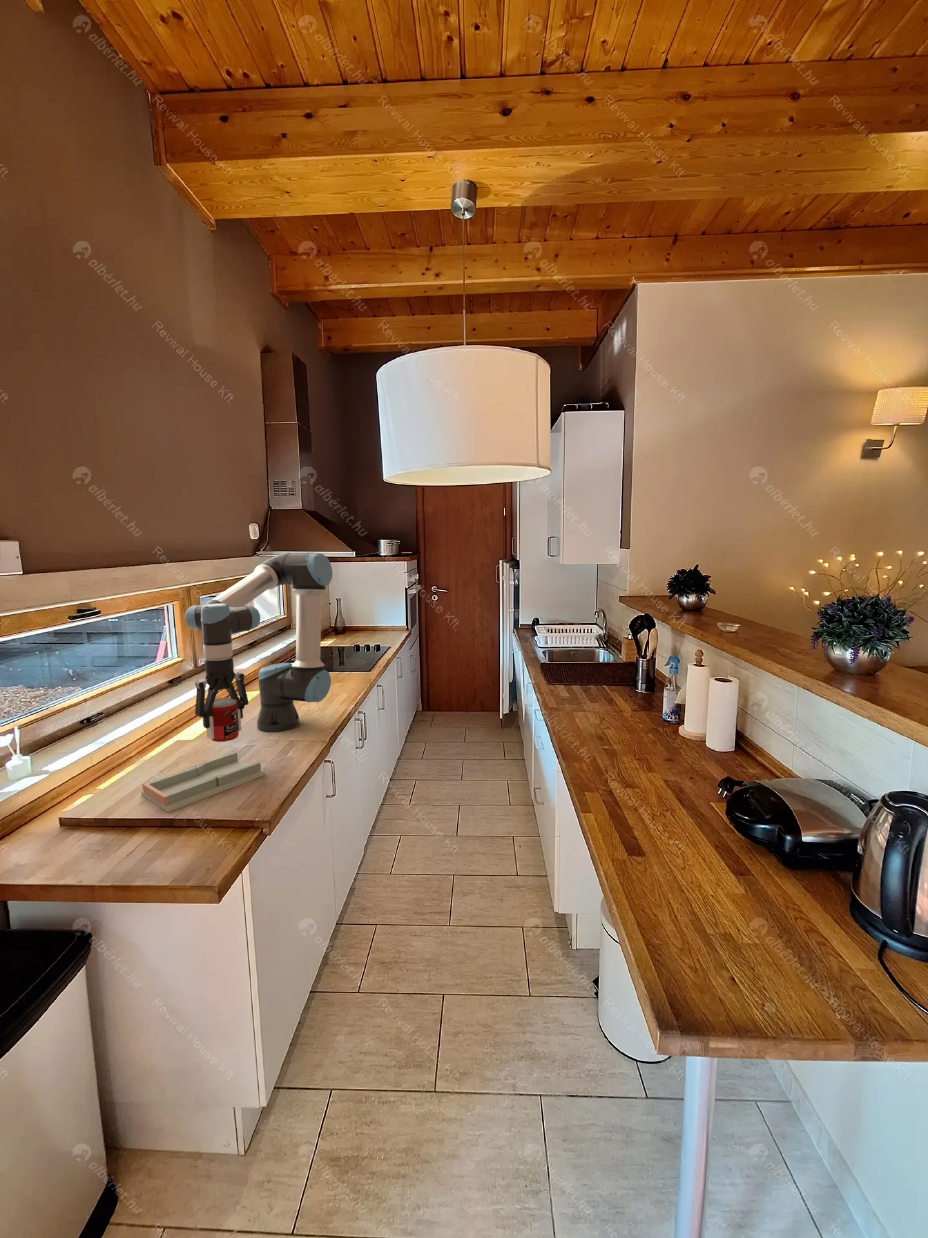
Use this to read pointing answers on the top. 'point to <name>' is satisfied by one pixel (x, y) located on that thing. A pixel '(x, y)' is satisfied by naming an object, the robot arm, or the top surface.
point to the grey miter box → (200, 781)
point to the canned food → (225, 719)
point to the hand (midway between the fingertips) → (224, 733)
